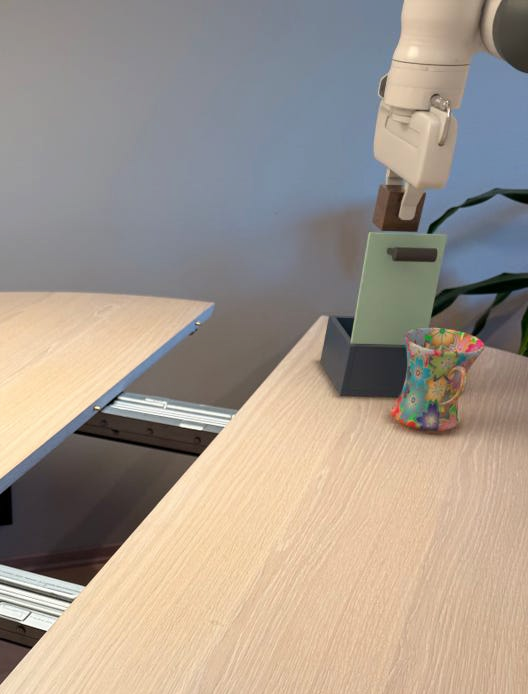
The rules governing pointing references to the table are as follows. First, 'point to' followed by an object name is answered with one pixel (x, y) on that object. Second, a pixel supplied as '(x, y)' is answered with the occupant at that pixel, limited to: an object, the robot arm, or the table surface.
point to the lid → (397, 286)
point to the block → (394, 210)
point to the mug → (435, 377)
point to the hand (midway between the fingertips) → (397, 213)
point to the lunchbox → (361, 362)
